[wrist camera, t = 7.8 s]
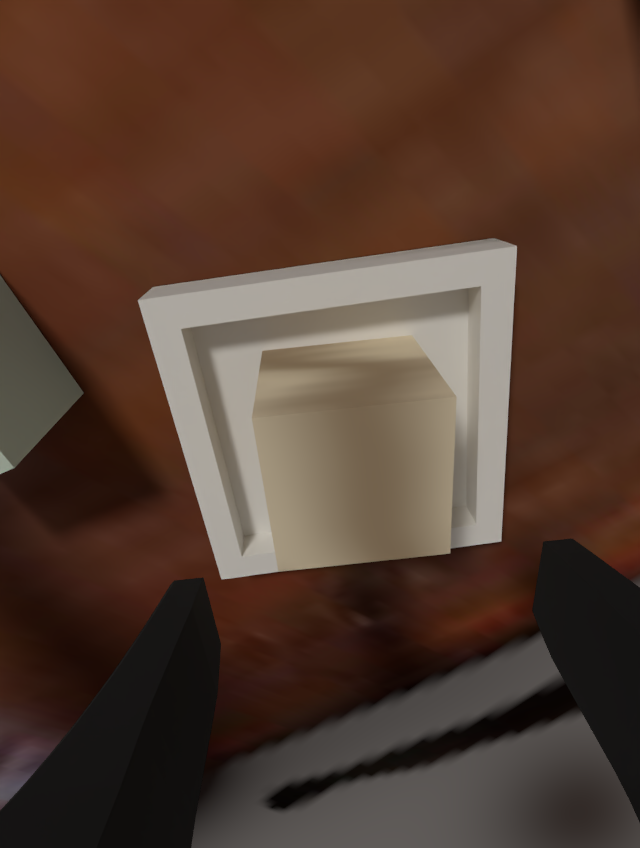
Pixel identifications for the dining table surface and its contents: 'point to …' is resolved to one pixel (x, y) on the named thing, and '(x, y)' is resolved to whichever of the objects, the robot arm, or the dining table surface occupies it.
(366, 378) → the maple cube
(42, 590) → the dining table surface
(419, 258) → the tray
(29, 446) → the sage cube
